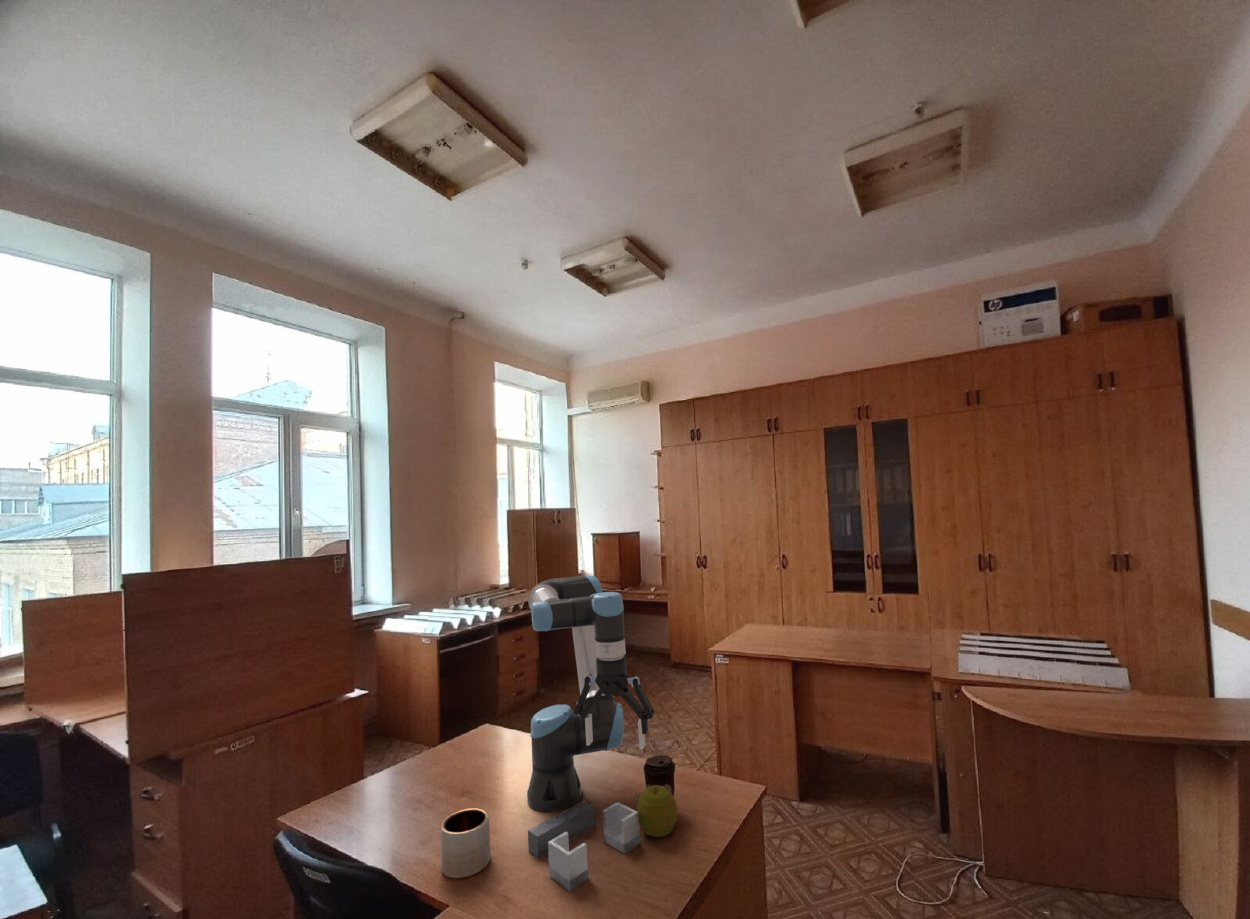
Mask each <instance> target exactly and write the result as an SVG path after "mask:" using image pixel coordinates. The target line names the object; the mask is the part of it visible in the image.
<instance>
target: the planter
mask: <svg viewBox="0 0 1250 919" xmlns="http://www.w3.org/2000/svg"><path fill="white" fill-rule="evenodd" d="M490 833H491V832H490V814H489V812H488V811H487V810H486V809H483V808H478V807H471V808H470V807H469V808H464V809H461V810H457V811H455V812H453V813H451V814H449V815H448V816H447V817H445V818H444V819H443V821H442V822H441V823H440V863H441V865H440V867H441V872H442V874H443V873H444V874H445V875H444V874H443V875H444V876H446V875H447V876H446V877H448V876H449V877H448V878H450V877H452V878H451V879H455V878H461V879H465V877H466V878H469V876H470V877H472V876H475V875H476V873H477V874H478V873H479V872H481V871H482V870H484V869H485V868H486V867H487V865H488V864H489V863H490V861H491V856H492V855H491V854H492V853H491V852H492V851H491V836H490V835H491V834H490ZM474 874H475V875H474ZM471 875H472V876H471Z"/></svg>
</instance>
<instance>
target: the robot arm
mask: <svg viewBox="0 0 1250 919" xmlns="http://www.w3.org/2000/svg"><path fill="white" fill-rule="evenodd" d="M623 602H624V601H623V595H622V594H621V593H620V592H616V591H604V592H603V588H602V585H601V582H600V581H599V579H598V577H597V576H595V575H585V574H584V575H580V576H570V577H567V576H566V577H557V578H555V577H554V578H548V579H547V580H544V581H541V582H539V583H538V584H536V585H535V586H534V587H533V588H532V589H531V591H529V594H528V597H527V603H528V607H529V608H530V611H531V623H532V624H531V625H532V630H534V631H535V632H548V631H553V630H554V631H555V630H561V629H562V630H563V629H570V628H571V631H572V640H573V646H574V647H573V648H574V653H575V654H574V655H575V663H576V669H577V670H576V671H577V680H578V686H579V694H580V695H579V698H578V700H577V701H576V705H575V708H574V709H572V708H571V706H570V705H568V704H554V705H550V706H547V707H544V708H542V709H541V710H538V712H536V713H535V714H534V715H533V716H532V718H531V721H530V734H529V736H530V738H531V763H532V771H531V772H532V773H531V776H530V780H529V784H528V789H527V791H526V797H527V798H526V799H527V801H526V802H527V804H528V807H530V808H531V809H533V810H536V811H541V812H556V811H560V810H564V809H565V810H566V809H568V808H569V807H570V808H571V806H572V807H573V805H575V804H577V802H579V800H580V799H581V797H582V793H583V792H582V784H581V781H580V778H579V775H578V772H577V770H576V766H575V762H574V761H575V760H574V756H577V755H578V756H579V755H585V754H586V755H587V754H591V753H592V754H593V753H596V752H603V751H605V752H607V751H608V750H613V749H617V748H619V747H620V746H621V744H622V742H623V740H624V732H625V731H624V725H625V724H624V710H623V706H622V704H621V703H619V702H616V699H615V698H616V697H617V698H618V697H619V696H620V697H621V698H622V700H625V702H626V703H627V704H628V706H629V707H630V708H631V709H632V710H633V712H634V713H635V715H636V716H637V717H638V718H639V719H638V721H637V730H638V745H639V746H638V749H639V750H641V751H642V750H643V749H644V748H645V746H646V736H645V735H647V733H648V732H649V719H650V720H651V719H653V717H654V716H655V713H656V711H655V709H654V708H653V706H652V703H651V702H650V700H649V698H648V695H647V694H646V692H645V690H644V688H643V686H642V682H641V678H640V676H639V675H636V676H635V677H629V676H628V672H627V671H628V670H627V669H628V668H627V667H628V666H627V657H626V656H625V655H626V653H627V652H626V636H625V635H626V634H625V620H624V619H625V617H624V616H625V615H624V614H625V613H624V609H625V606H624V603H623ZM628 685H630V686H631V687H632V688H633V690H634V693H635V695H636V696H637V698H638V700H637V699H636V698H635V696H634V695H633V694H632V691H631V690H630V689H629V688H628Z"/></svg>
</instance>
